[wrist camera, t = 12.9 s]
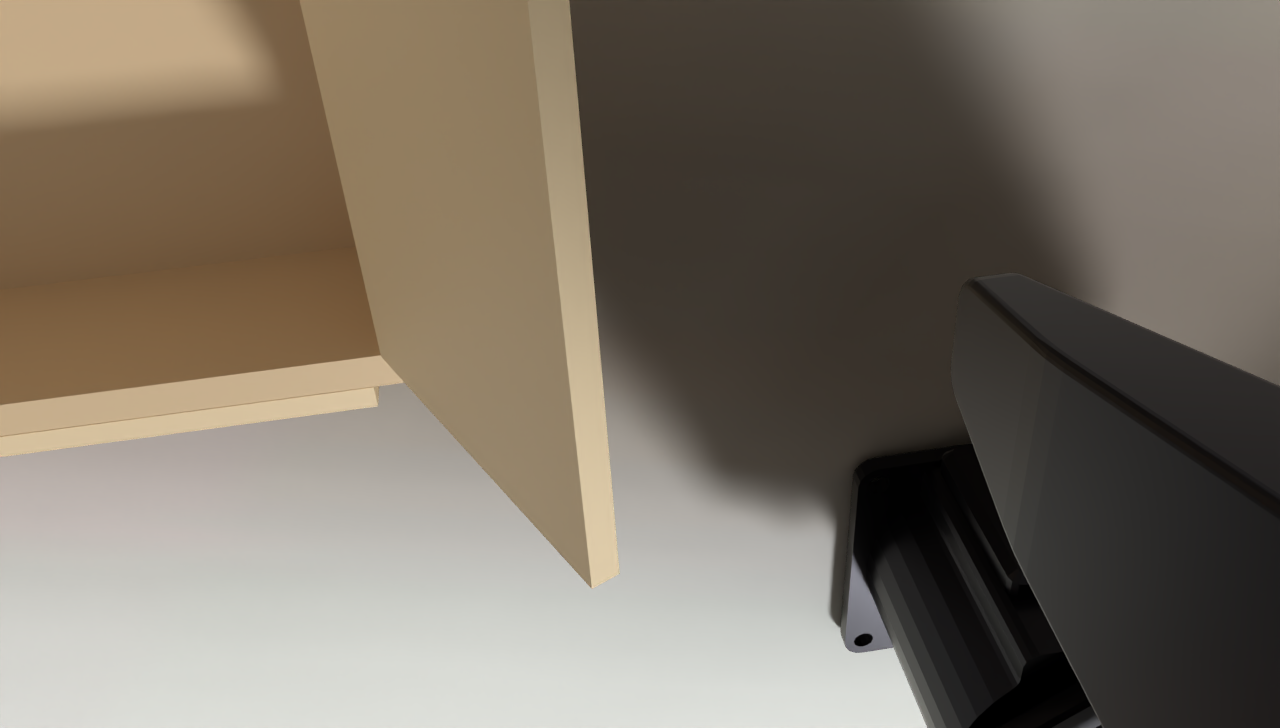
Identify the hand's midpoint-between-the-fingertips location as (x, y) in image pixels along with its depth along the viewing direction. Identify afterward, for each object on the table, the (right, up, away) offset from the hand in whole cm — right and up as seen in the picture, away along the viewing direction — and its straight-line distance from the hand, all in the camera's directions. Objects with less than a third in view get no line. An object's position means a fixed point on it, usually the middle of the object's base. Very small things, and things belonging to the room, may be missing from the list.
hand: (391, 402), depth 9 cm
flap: (-1, +3, +4) cm, 5 cm away
